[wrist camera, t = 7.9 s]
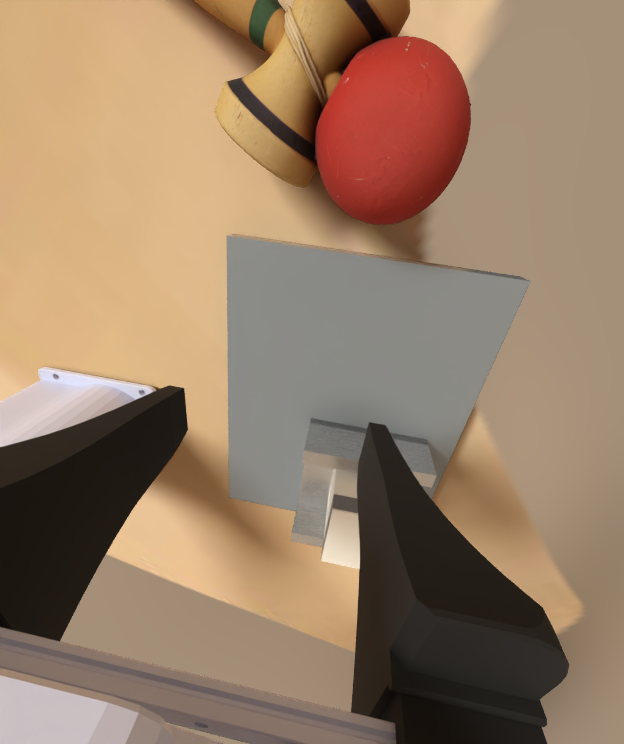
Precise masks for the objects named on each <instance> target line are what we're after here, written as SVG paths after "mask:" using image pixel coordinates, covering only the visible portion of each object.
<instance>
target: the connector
mask: <svg viewBox="0 0 624 744" xmlns="http://www.w3.org/2000/svg"><path fill="white" fill-rule="evenodd" d="M357 475H358V473H354V472H349V471H343V470H338V469H334V472H333V477H332V481H331V486H330V491H329V496H328V503H327V512H326V521H325V530H324V539H323V545H322V554H321V561H323V562H328V563H332V564H337V565H342V566H346V567H351V568H356V569H360V540H359V522H358V503H357Z"/></svg>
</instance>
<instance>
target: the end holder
mask: <svg viewBox="0 0 624 744" xmlns="http://www.w3.org/2000/svg"><path fill="white" fill-rule="evenodd" d="M366 432H367V428H362V427H357V426H352V425H346V424H341V423H335V422H330V421H325V420H319V419H314V418H311V421H310V426H309V430H308V434H307V438H306V443H305V447H304V452H303V459H302V463H304V467H303V474H302V481H301V487H300V494H299V501H298V506H297V510H296V515H295V520H294V525H293V529H292V535H291V541H294V542H298V543H303V544H308V545H313V546H317V547H322V545H323V539H324V530H325V521H326V512H327V503H328V496H329V491H330V486H331V481H332V477H333V472H334V469H338V470H343V471H349V472H354V473H358V462H359V458H360V454H361V451H362V447H363V443H364V439H365V435H366ZM390 434H391V436H392V438H393V440H394V442H395V444H396V445H397V447H398V449H399V451H400V453H401V454H402V456H403V458H404V460H405V461H406V463H407V464H408V466H409V468H410V469H411V471H412V473H413V474H414V476H415V477H416V479H417V480H418V482H419V483H420V484H421V486H426V487H431V488H432V486H433V484H434V481H435V479H436V477H437V474H436V471H435V467H434V464H433V460H432V457H431V453H430V450H429V446H428V443H427V439H422V438H417V437H411V436H406V435H400V434H395V433H390Z"/></svg>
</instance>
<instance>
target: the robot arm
mask: <svg viewBox="0 0 624 744" xmlns="http://www.w3.org/2000/svg"><path fill="white" fill-rule="evenodd" d="M38 374H39V377H40V379H41V380H40V381H38V382H36V383H34V384H32V385H30V386H28V387H27V388H25V389H23V390H21V391H19V392H17V393H16V394H14V395H12V396H10V397H8V398H6V399H4V400H3V401H1V402H0V744H222V743H219V742H217V741H214V740H211V739H209V738H206V737H203V736H200V735H198V734H195V733H192V732H189V731H187V730H184V729H181V728H178V727H175V726H172V725H169V724H167V723H171V724H175V725H179V726H182V727H187V728H190V729H194V730H198V731H202V732H206V733H210V734H214V735H218V736H222V737H226V738H230V739H233V740H238V741H241V742H245V743H249V744H547V742H546V739H545V736H544V733H543V730H542V727H545V726H546V725H547V719H546V716H545V713H544V710H543V708H542V705H541V702H540V699H541V698H542V697H543V696H544V695H546V694H547V693H548V692H550V691H551V690H552V689H553V688H555V687H556V686H557V685H559V684H560V683H561V682H562V681H563V679H564V678H565V677H566V675H567V673H568V668H569V663H568V661H567V659H566V656H565V654H564V652H563V650H562V647H561V645H560V643H559V640H558V638H557V636H556V633H555V631H554V629H553V627H552V625H551V623H550V621H549V619H548V617H547V615H546V613H545V611H544V610H543V608H542V607H541V606H540V605H539V604H538V603H536V602H535V601H534V600H533V599H532V598H530V597H529V596H528V595H527V594H526V593H524V592H523V591H522V590H521V589H520V588H519V587H517V586H516V585H515V584H514V583H513V582H511V581H510V580H509V579H508V578H507V577H505V576H504V575H503V574H502V573H501V572H500V571H499V570H498V569H497V568H495V567H494V566H493V565H492V564H491V563H490V562H489V561H488V560H487V559H486V558H485V557H484V556H483V555H482V554H480V553H479V552H478V551H477V550H476V549H475V548H474V547H473V546H472V545H471V544H470V543H469V542H468V541H467V540H466V538H465V537H464V536H463V535H462V534H461V533H460V532H459V531H458V530H457V529H456V528H455V527H454V526H453V525H452V524H451V522H450V521H449V520H448V519H447V518H446V517H445V516H444V514H443V513H442V512H441V511H440V510H439V508H438V507H437V506H436V505H435V503H434V502H433V501H432V500H431V498H430V497H429V496H428V494H427V493H426V492H425V490H424V489H423V487H422V486H421V484H420V483H419V482H418V480H417V479H416V477H415V476H414V474H413V473H412V471H411V469H410V468H409V466H408V464H407V463H406V461H405V460H404V458H403V456H402V454H401V453H400V451H399V449H398V447H397V445H396V444H395V442H394V440H393V438H392V436H391V434H390V432H389V430H388V428H387V427H386V425H382V424H376V423H371V422H369V424H368V428H367V432H366V435H365V439H364V443H363V447H362V451H361V454H360V458H359V462H358V475H357V503H358V522H359V540H360V572H359V595H358V616H357V633H356V650H355V667H354V680H353V694H352V708H351V712H347V711H343V710H339V709H335V708H331V707H327V706H323V705H319V704H314V703H310V702H306V701H302V700H298V699H294V698H290V697H286V696H282V695H277V694H273V693H269V692H265V691H261V690H257V689H252V688H249V687H244V686H240V685H236V684H232V683H228V682H224V681H220V680H216V679H212V678H208V677H203V676H199V675H195V674H191V673H187V672H183V671H179V670H175V669H171V668H166V667H162V666H158V665H154V664H150V663H146V662H141V661H138V660H134V659H129V658H125V657H121V656H117V655H113V654H109V653H105V652H100V651H97V650H92V649H88V648H84V647H80V646H76V645H72V644H68V643H64V642H60V640H61V638H62V636H63V634H64V632H65V630H66V628H67V626H68V624H69V622H70V620H71V618H72V616H73V614H74V612H75V610H76V608H77V605H78V604H79V602H80V600H81V598H82V596H83V594H84V592H85V591H86V589H87V587H88V585H89V583H90V581H91V579H92V578H93V576H94V574H95V572H96V570H97V568H98V566H99V565H100V563H101V561H102V559H103V558H104V556H105V554H106V553H107V551H108V549H109V547H110V546H111V544H112V542H113V540H114V539H115V537H116V535H117V534H118V532H119V530H120V529H121V527H122V526H123V524H124V522H125V521H126V519H127V517H128V516H129V514H130V513H131V511H132V510H133V508H134V507H135V505H136V504H137V502H138V501H139V500H140V498H141V497H142V496H143V494H144V493H145V492H146V490H147V489H148V488H149V486H150V485H151V484H152V482H153V481H154V480H155V479H156V477H157V476H158V475H159V473H160V472H161V471H162V469H163V468H164V467H165V465H166V464H167V463H168V461H169V460H170V459H171V457H172V456H173V455H174V453H175V452H176V450H177V448H178V447H179V445H180V443H181V441H182V440H183V438H184V436H185V434H186V432H187V430H188V426H187V415H186V404H185V393H184V388H180V387H175V386H167V387H164V388H161V389H159V390H157V391H156V389H155V388H154V387H152V386H148V385H142V384H137V383H131V382H126V381H120V380H115V379H110V378H104V377H99V376H93V375H88V374H82V373H77V372H72V371H66V370H61V369H55V368H50V367H42V368H40V369H39V370H38ZM142 390H143V391H144V392H143V391H142ZM166 722H167V723H166Z"/></svg>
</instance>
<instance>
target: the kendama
mask: <svg viewBox="0 0 624 744" xmlns="http://www.w3.org/2000/svg"><path fill="white" fill-rule="evenodd" d="M194 1H195V2H196V3H198V4H199V5H200V6H201V7H203V8H204V9H205V10H206V11H208V12H209V13H211V14H212V15H213V16H215V17H216V18H217V19H218V20H220V21H221V22H223V23H224V24H226V25H227V26H229V27H230V28H231V29H233V30H235V31H236V32H237V33H239V34H240V35H242V36H243V37H245V38H246V39H248V40H249V41H251V42H252V43H253V44H255V45H256V46H258V47H259V48H261V49H262V50H264V51H265V52H266V53H267V54H269V55H271V56H270V57H269V59H268V60H267V61H266V62H265V63H264V64H263V65H262V66H260V67H259V68H258V69H256V70H255V71H254V72H252V73H250V74H249V75H247V76H245V77H242V78H239V79H235V80H231V81H227V82H225V83H224V86H223V88H222V91H221V94H220V97H219V100H218V103H217V105H216V109H215V115H216V117H217V120H218V121H219V123H220V125H221V126H222V127H223V129H224V130H225V131H226V133H227V134H228V135H229V136H230V137H231V138H232V139H233V141H235V142H236V143H237V144H238V145H239V146H240V147H241V148H242V149H243V150H244V151H245V152H246V153H247V154H249V155H250V156H251V157H252V158H253V159H254V160H256V161H257V162H258V163H259V164H260V165H262V166H263V167H264V168H266V169H267V170H269V171H270V172H272V173H273V174H274V175H276V176H277V177H279V178H281V179H282V180H284V181H286V182H288V183H290V184H292V185H295V186H298V187H306V186H307V185H308V184H309V182H310V181H311V180H312V178H313V177H314V175H315V174H316V172H317V171H318V170H319V172H320V175H321V178H322V181H323V184H324V186H325V188H326V190H327V192H328V193H329V195H330V196H331V198H332V199H333V201H334V202H335V203H336V204H337V205H338V206H339V207H340V208H341V209H342V210H343V211H345V212H346V213H347V214H349V215H350V216H352V217H354V218H356V219H358V220H360V221H363V222H366V223H371V224H379V225H387V224H394V223H399V222H402V221H404V220H406V219H409V218H411V217H413V216H414V215H416V214H418V213H420V212H421V211H423V210H424V209H425V208H427V207H428V206H429V205H430V204H431V203H433V202H434V201H435V200H436V199H437V198H438V197H439V196H440V195H441V193H442V192H443V191H444V190H445V188H446V187H447V186H448V184H449V183H450V181H451V180H452V178H453V176H454V175H455V173H456V171H457V169H458V167H459V165H460V162H461V160H462V157H463V155H464V151H465V149H466V145H467V142H468V136H469V131H470V124H471V113H470V106H471V104H470V101H469V96H468V92H467V88H466V85H465V83H464V80H463V77H462V75H461V73H460V71H459V70H458V68H457V66H456V64H455V63H454V62H453V61H452V59H451V58H450V56H449V55H448V54H447V53H445V52H444V51H443V50H442V49H440V48H439V47H438V46H437V45H435V44H433V43H431V42H429V41H427V40H424V39H421V38H416V37H409V36H403V37H397V36H398V34H399V33H400V31H401V29H402V27H403V25H404V24H405V22H406V20H407V18H408V16H409V14H410V1H409V0H294V3H293V8H292V9H291V8H290V6H289V7H288V10H287V11H285V10H284V9H283V8H282V6H281V5H280V4H279V2H278V0H194Z"/></svg>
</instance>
